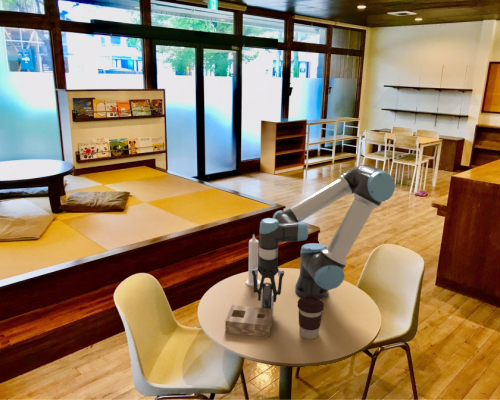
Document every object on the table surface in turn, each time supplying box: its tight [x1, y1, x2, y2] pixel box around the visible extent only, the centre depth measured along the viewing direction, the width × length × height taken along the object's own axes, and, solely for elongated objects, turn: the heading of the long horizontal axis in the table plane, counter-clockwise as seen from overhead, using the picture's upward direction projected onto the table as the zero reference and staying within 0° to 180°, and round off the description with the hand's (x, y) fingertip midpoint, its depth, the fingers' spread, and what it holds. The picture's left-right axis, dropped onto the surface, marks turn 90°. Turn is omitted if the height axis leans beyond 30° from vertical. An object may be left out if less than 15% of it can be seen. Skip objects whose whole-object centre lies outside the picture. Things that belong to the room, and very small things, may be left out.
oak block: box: [224, 304, 274, 338], centre depth 167 cm, size 17×12×5 cm
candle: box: [245, 234, 261, 287], centre depth 199 cm, size 7×7×25 cm
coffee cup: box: [297, 295, 325, 340], centre depth 161 cm, size 10×10×15 cm
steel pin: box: [262, 282, 273, 309], centre depth 175 cm, size 4×4×13 cm
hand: (267, 307), depth 176 cm, fingers closed on steel pin, 4 cm apart
